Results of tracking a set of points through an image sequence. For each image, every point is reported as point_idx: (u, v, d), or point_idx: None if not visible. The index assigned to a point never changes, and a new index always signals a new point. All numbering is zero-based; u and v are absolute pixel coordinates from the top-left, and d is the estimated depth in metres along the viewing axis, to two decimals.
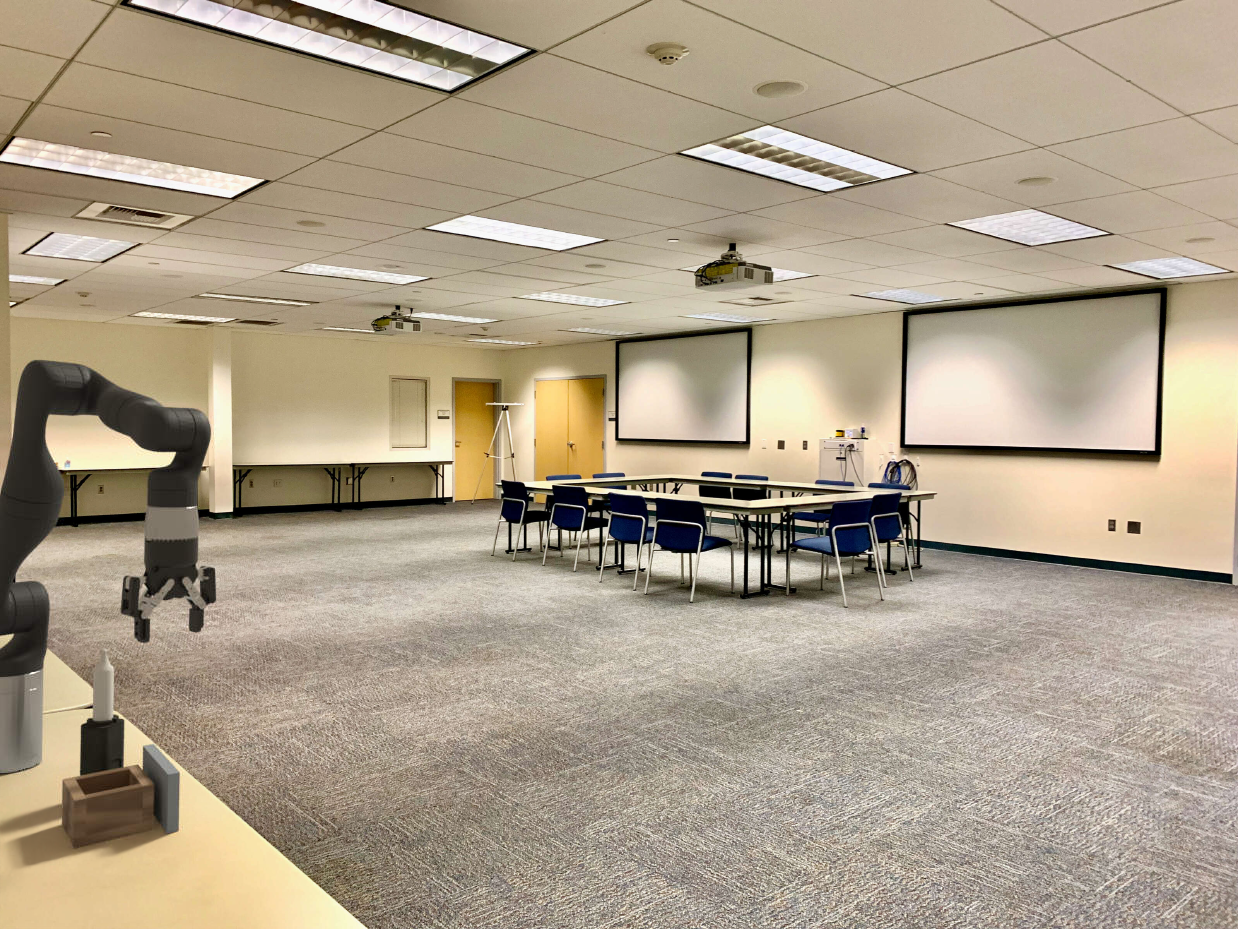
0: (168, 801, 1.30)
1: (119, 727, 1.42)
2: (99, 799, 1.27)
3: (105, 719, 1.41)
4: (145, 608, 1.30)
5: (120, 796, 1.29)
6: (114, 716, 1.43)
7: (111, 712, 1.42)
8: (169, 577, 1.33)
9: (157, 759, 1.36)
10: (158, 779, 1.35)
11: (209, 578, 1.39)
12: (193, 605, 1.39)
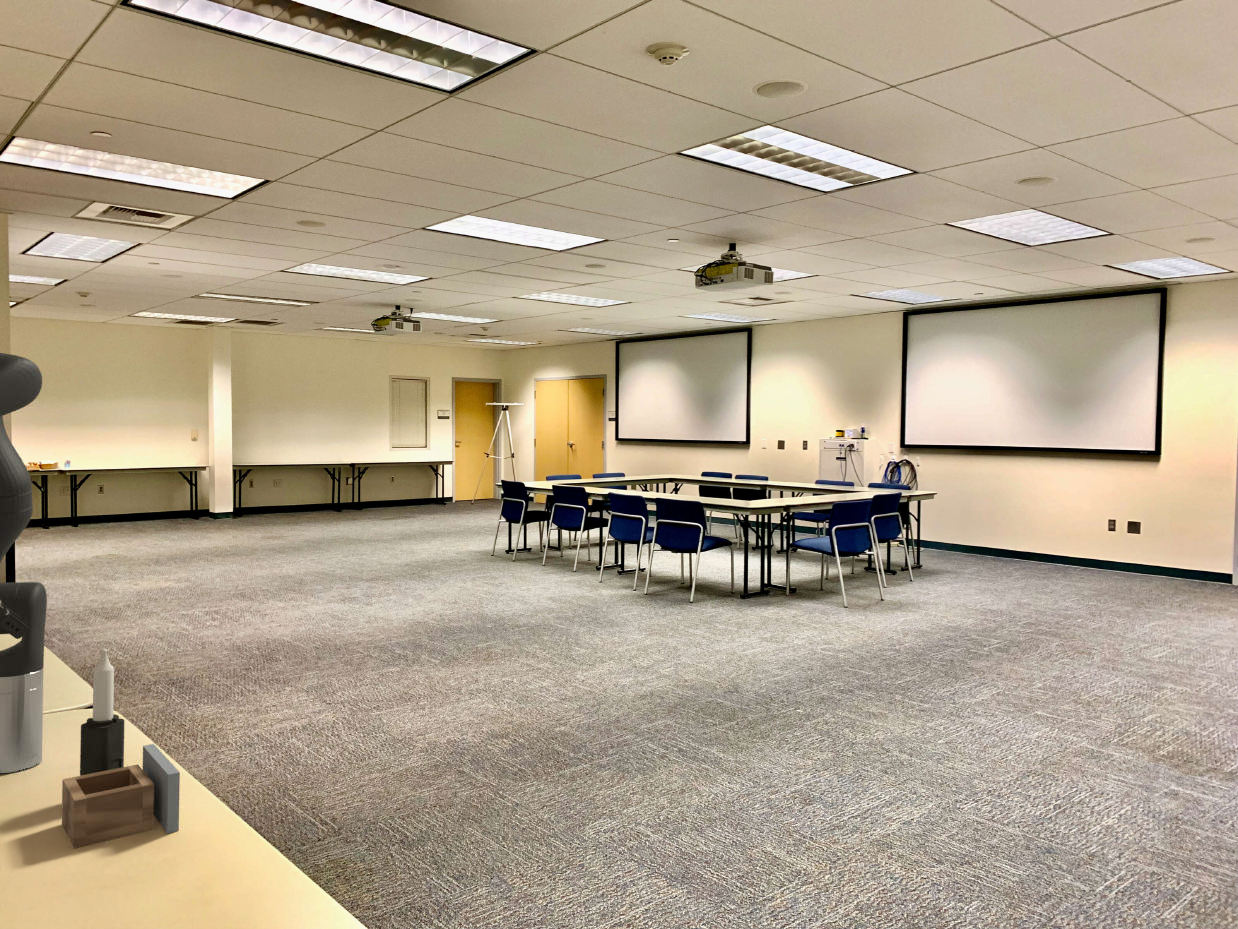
0: (168, 801, 1.30)
1: (119, 727, 1.42)
2: (99, 799, 1.27)
3: (105, 719, 1.41)
4: None
5: (120, 796, 1.29)
6: (114, 716, 1.43)
7: (111, 712, 1.42)
8: None
9: (157, 759, 1.36)
10: (158, 779, 1.35)
11: None
12: None
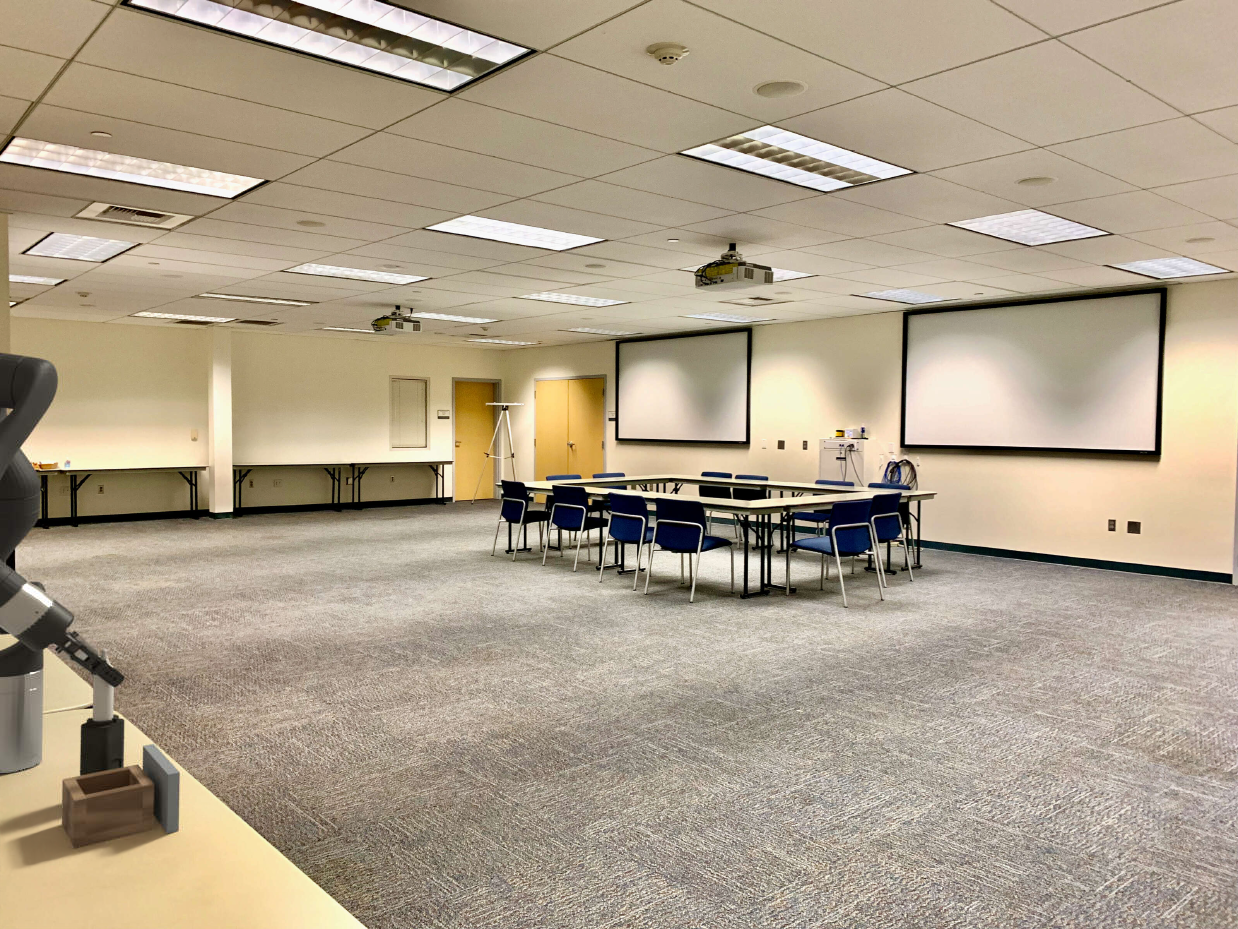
0: (168, 801, 1.30)
1: (119, 727, 1.42)
2: (99, 799, 1.27)
3: (105, 719, 1.41)
4: None
5: (120, 796, 1.29)
6: (114, 716, 1.43)
7: (111, 712, 1.42)
8: None
9: (157, 759, 1.36)
10: (158, 779, 1.35)
11: None
12: None
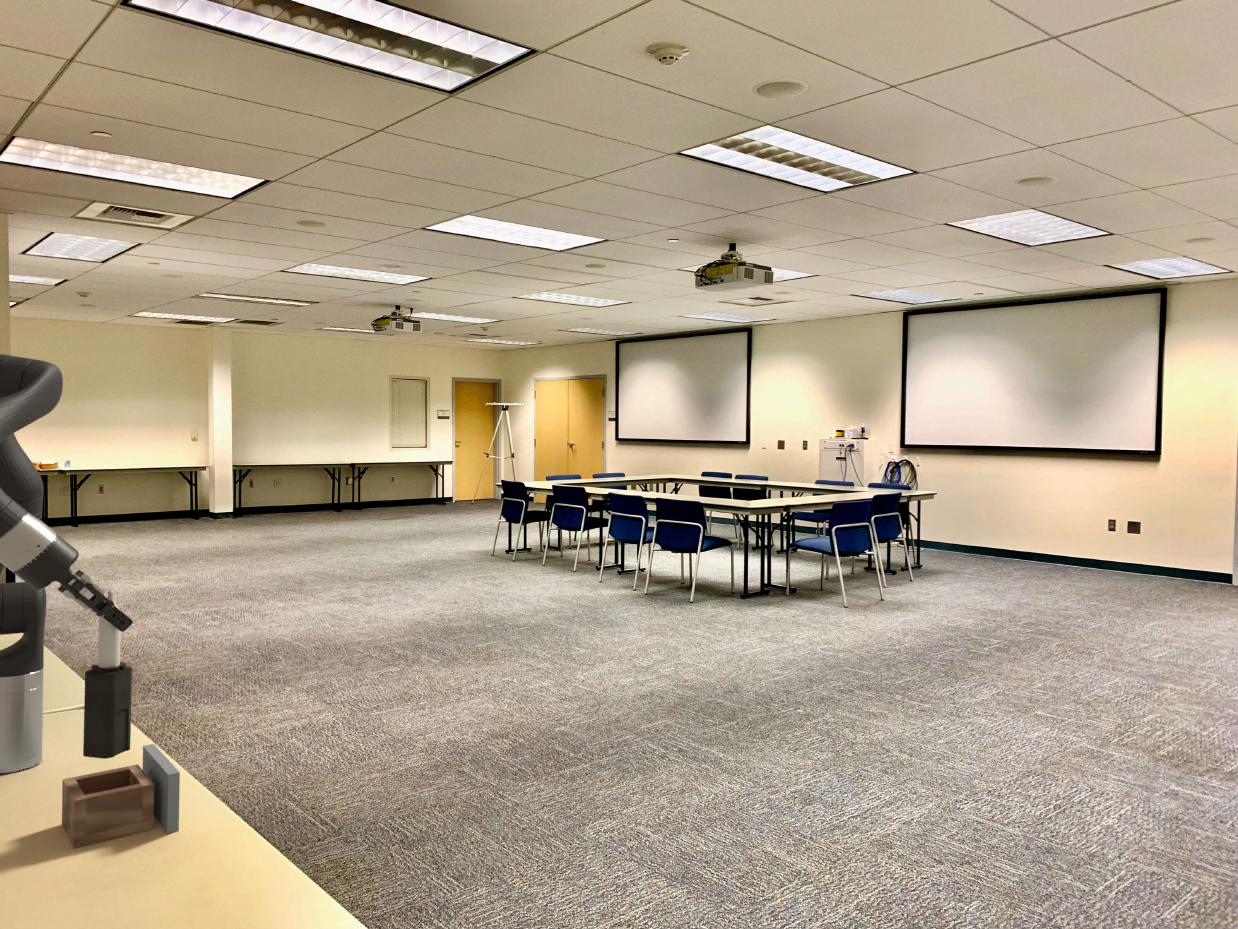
0: (168, 801, 1.30)
1: (126, 675, 1.32)
2: (99, 799, 1.27)
3: (111, 666, 1.31)
4: None
5: (120, 796, 1.29)
6: (121, 663, 1.33)
7: (118, 658, 1.32)
8: (60, 584, 1.28)
9: (157, 759, 1.36)
10: (158, 779, 1.35)
11: None
12: None
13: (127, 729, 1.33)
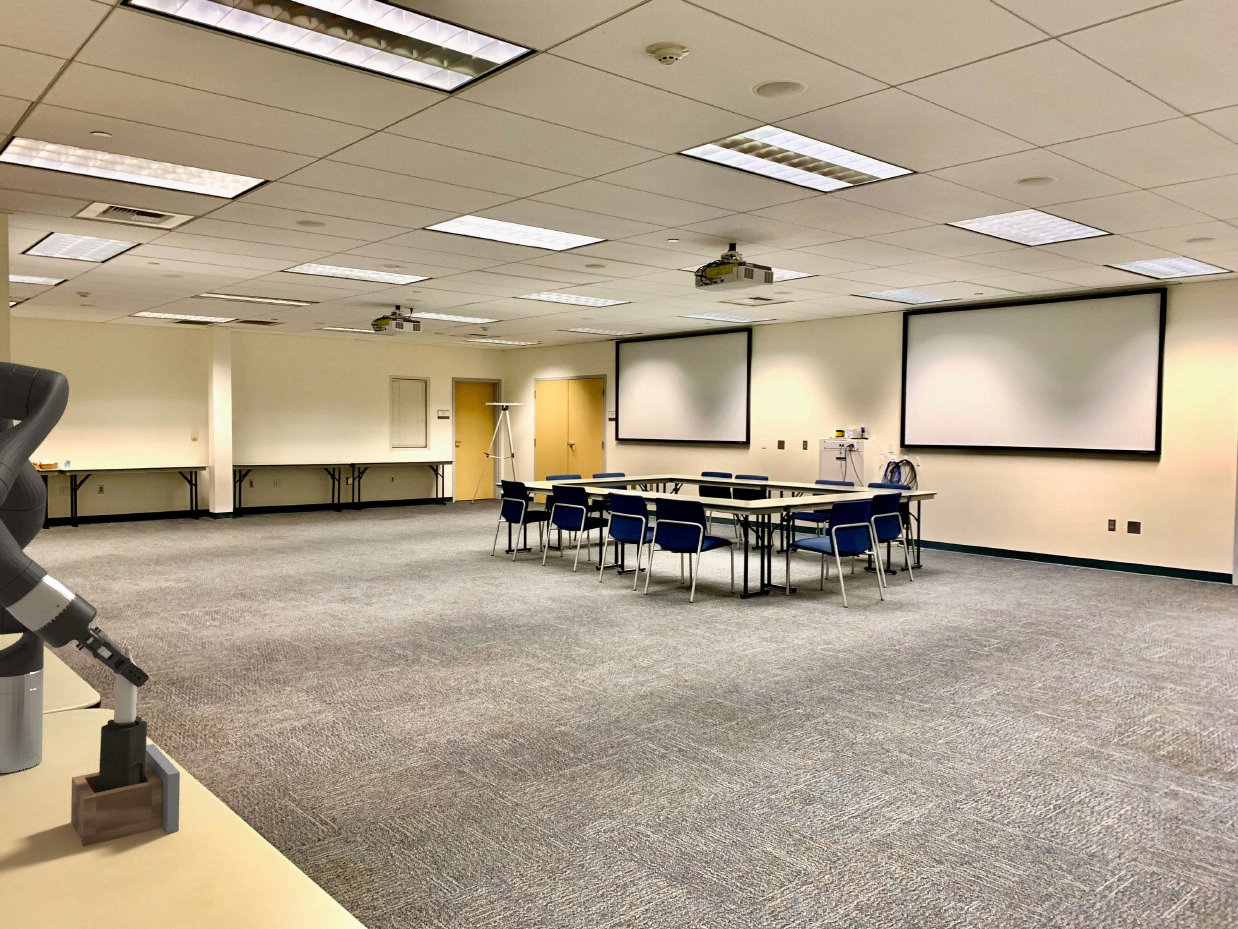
0: (168, 801, 1.30)
1: (141, 730, 1.33)
2: (109, 797, 1.28)
3: (127, 721, 1.32)
4: None
5: (129, 794, 1.29)
6: (136, 718, 1.34)
7: (133, 714, 1.33)
8: None
9: (157, 759, 1.36)
10: None
11: None
12: None
13: None
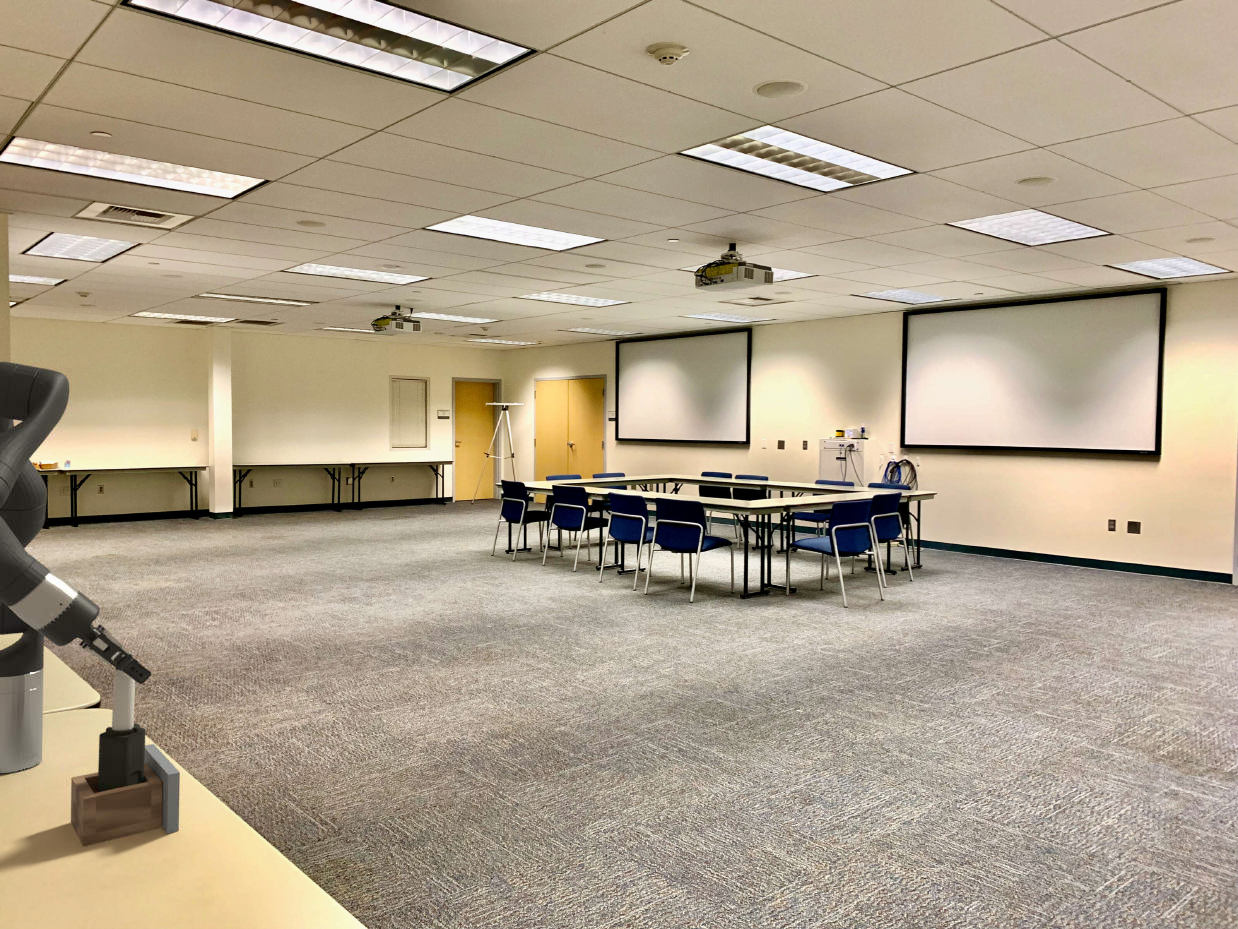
0: (168, 801, 1.30)
1: (139, 738, 1.33)
2: (108, 797, 1.28)
3: (125, 728, 1.32)
4: None
5: (129, 794, 1.29)
6: (135, 725, 1.34)
7: (131, 721, 1.33)
8: (82, 640, 1.30)
9: (157, 759, 1.36)
10: None
11: None
12: None
13: None
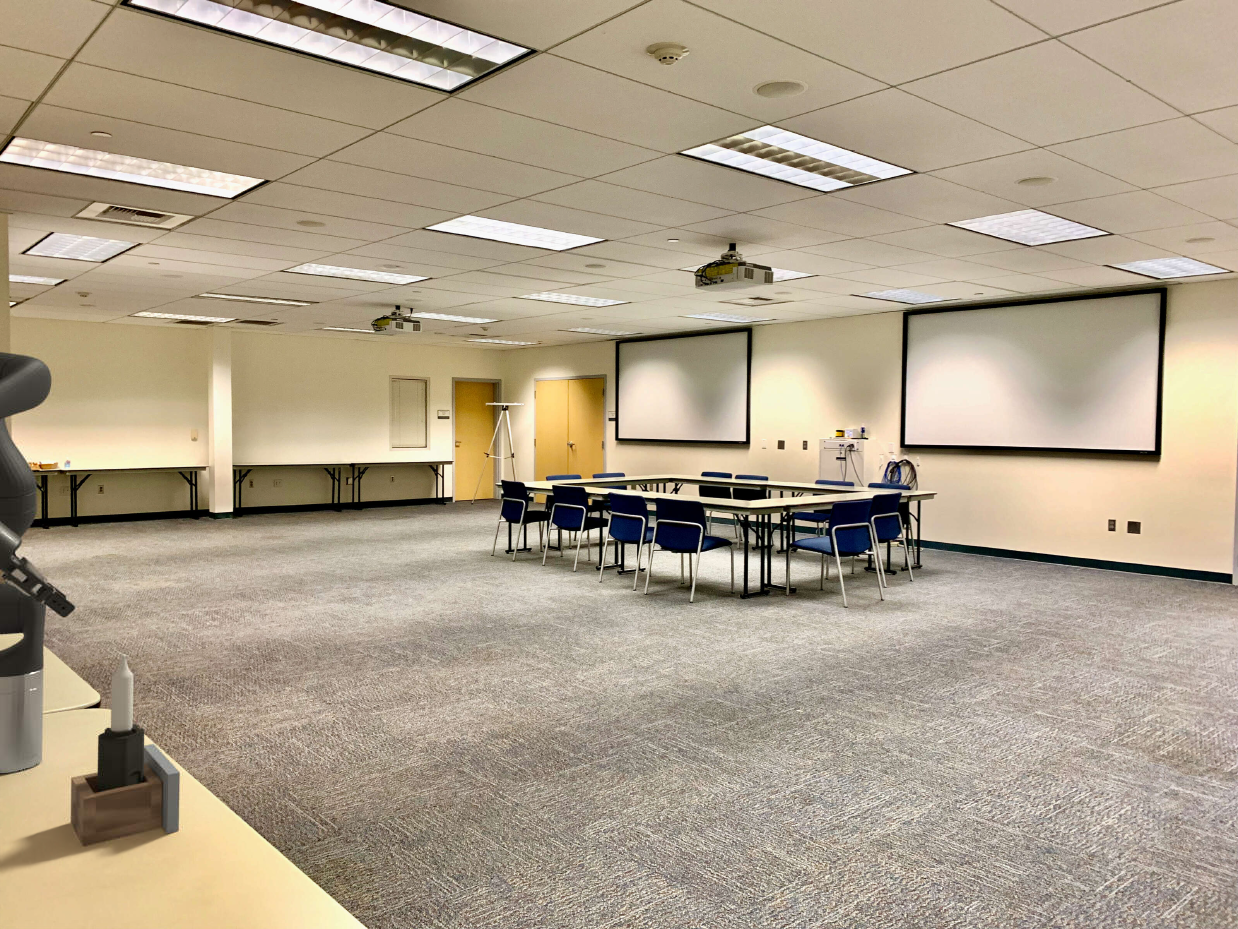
0: (168, 801, 1.30)
1: (138, 738, 1.33)
2: (108, 797, 1.28)
3: (124, 729, 1.32)
4: None
5: (129, 794, 1.29)
6: (133, 726, 1.34)
7: (130, 722, 1.33)
8: None
9: (157, 759, 1.36)
10: None
11: None
12: None
13: None
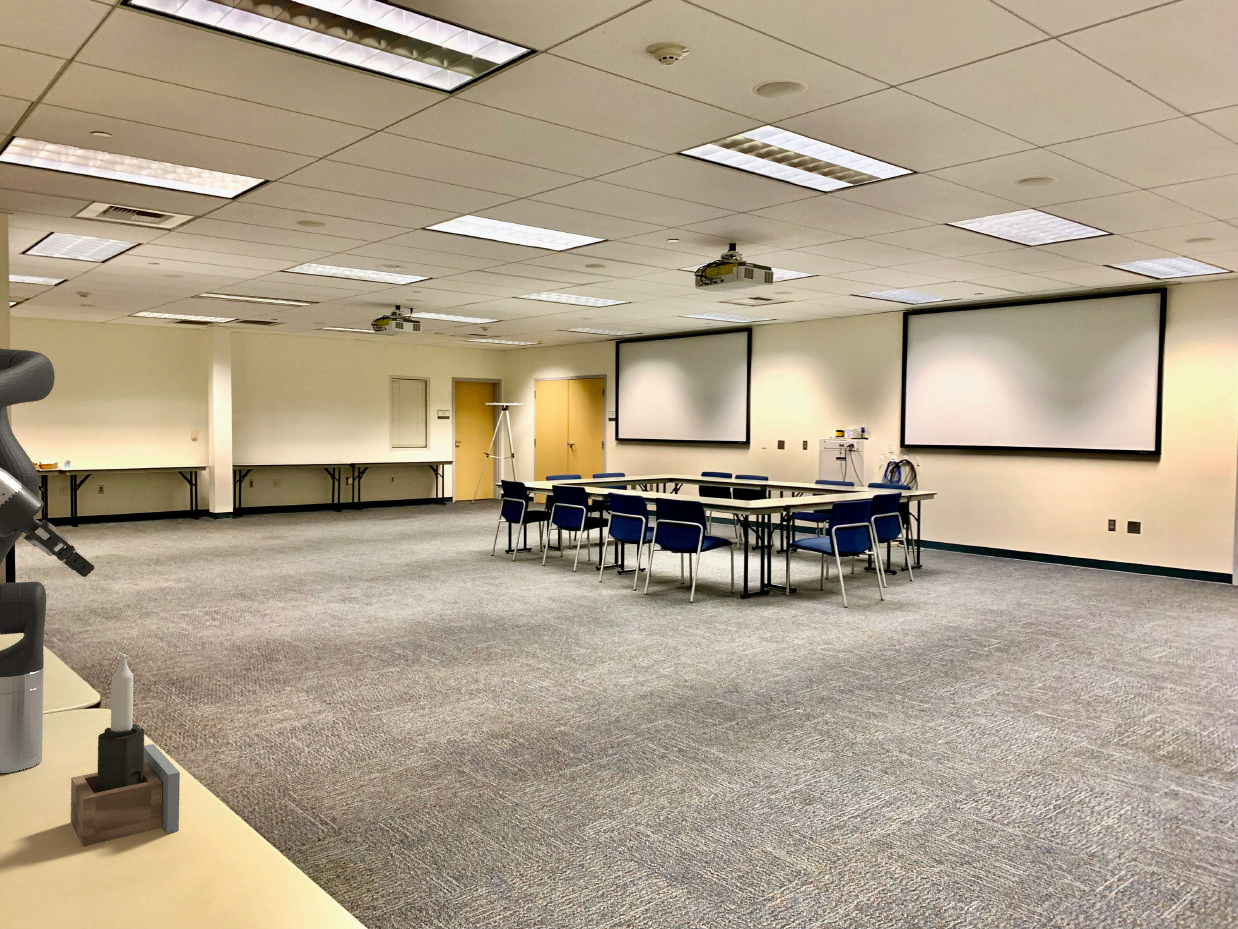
0: (168, 801, 1.30)
1: (138, 738, 1.33)
2: (108, 797, 1.28)
3: (124, 729, 1.32)
4: None
5: (129, 794, 1.29)
6: (133, 726, 1.34)
7: (130, 722, 1.33)
8: (27, 533, 1.34)
9: (157, 759, 1.36)
10: None
11: None
12: None
13: None
